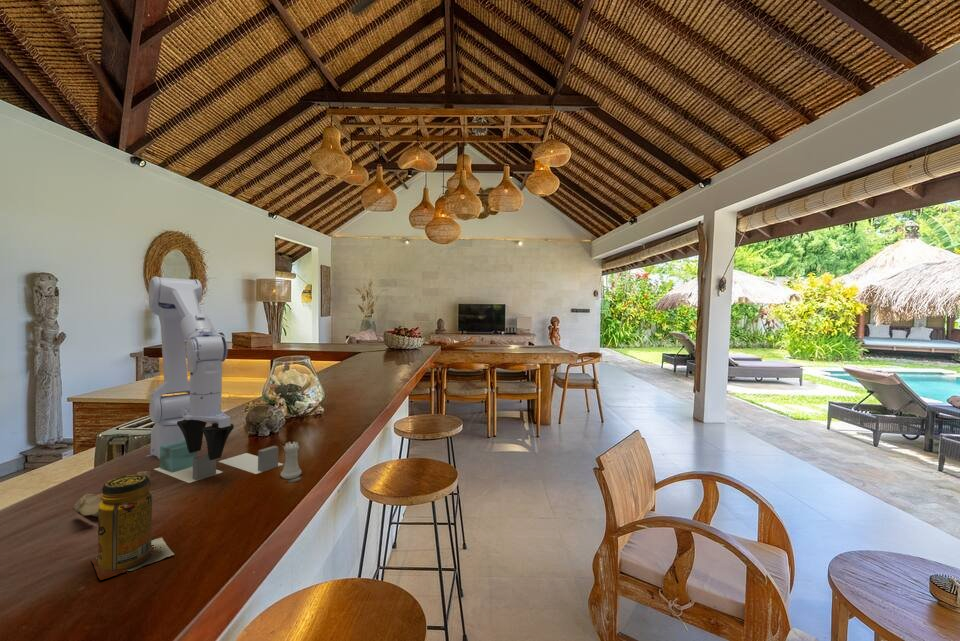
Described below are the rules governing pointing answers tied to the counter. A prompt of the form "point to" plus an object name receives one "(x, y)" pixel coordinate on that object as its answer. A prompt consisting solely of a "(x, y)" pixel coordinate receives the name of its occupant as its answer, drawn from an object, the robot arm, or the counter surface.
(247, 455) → the cream and grey bookend
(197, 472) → the cream strip
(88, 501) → the seashell
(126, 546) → the condiment
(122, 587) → the counter surface
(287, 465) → the rook chess piece
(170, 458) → the teal block
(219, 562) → the counter surface
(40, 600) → the counter surface
